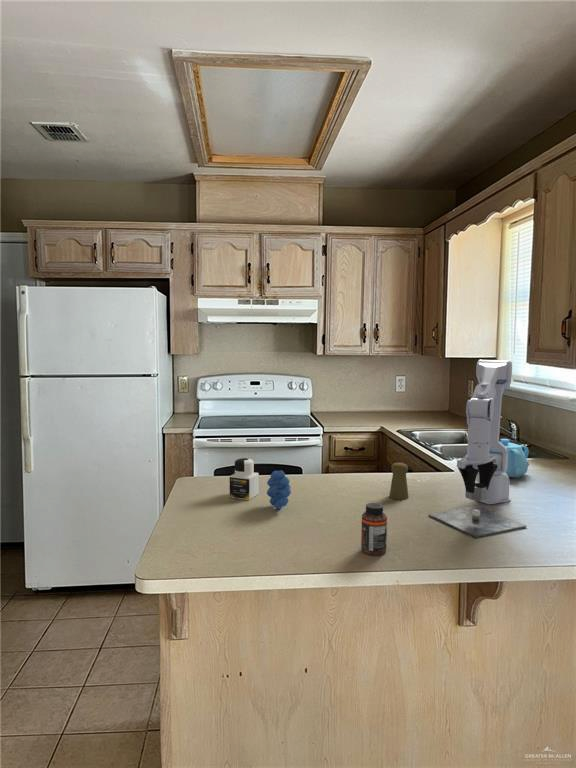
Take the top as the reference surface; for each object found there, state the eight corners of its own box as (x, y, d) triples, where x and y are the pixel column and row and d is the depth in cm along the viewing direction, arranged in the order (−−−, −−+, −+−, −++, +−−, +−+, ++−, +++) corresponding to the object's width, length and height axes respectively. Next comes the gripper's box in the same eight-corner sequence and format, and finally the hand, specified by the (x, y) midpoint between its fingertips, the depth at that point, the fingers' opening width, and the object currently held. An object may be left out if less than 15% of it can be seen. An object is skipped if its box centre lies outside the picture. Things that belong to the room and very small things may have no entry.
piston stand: (476, 507, 153) (476, 497, 153) (526, 527, 137) (526, 516, 137) (428, 515, 146) (428, 505, 146) (475, 538, 130) (475, 526, 129)
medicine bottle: (229, 497, 162) (228, 460, 161) (239, 491, 169) (239, 456, 168) (249, 500, 160) (249, 462, 159) (259, 494, 166) (259, 458, 165)
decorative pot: (472, 475, 191) (473, 439, 189) (491, 467, 202) (492, 433, 201) (516, 484, 179) (518, 445, 178) (534, 475, 190) (535, 439, 189)
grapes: (301, 512, 149) (301, 472, 148) (281, 516, 145) (281, 475, 144) (281, 501, 159) (281, 463, 158) (262, 504, 155) (261, 466, 154)
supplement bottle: (358, 546, 125) (359, 501, 124) (382, 545, 125) (383, 500, 124) (364, 556, 119) (365, 509, 118) (389, 555, 119) (390, 508, 118)
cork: (408, 500, 160) (409, 466, 159) (389, 499, 161) (389, 465, 160) (408, 494, 166) (409, 461, 165) (389, 493, 167) (390, 460, 166)
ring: (474, 493, 145) (474, 481, 144) (489, 498, 140) (490, 486, 140) (461, 496, 142) (462, 483, 142) (476, 501, 138) (477, 489, 137)
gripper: (484, 437, 147) (482, 483, 148) (448, 442, 139) (447, 490, 141) (505, 441, 141) (503, 489, 142) (469, 446, 133) (467, 497, 134)
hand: (477, 490), depth 141 cm, fingers closed on ring, 5 cm apart
